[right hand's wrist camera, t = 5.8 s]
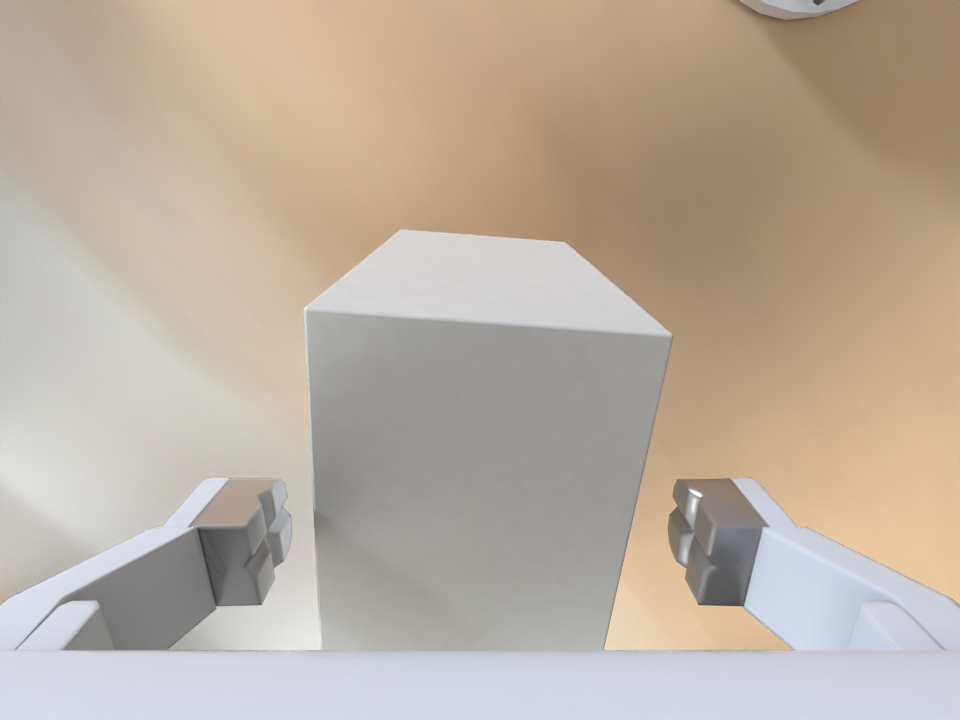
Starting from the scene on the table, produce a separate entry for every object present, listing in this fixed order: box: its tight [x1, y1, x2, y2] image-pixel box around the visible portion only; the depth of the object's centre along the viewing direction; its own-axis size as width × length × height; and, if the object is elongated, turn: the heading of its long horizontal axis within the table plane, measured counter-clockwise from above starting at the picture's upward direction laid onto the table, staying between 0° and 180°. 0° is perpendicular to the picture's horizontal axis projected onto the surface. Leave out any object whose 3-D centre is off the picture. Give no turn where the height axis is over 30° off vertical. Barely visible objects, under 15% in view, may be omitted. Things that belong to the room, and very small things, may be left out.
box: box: [304, 229, 673, 651], centre depth 18 cm, size 24×6×12 cm, turn 176°
